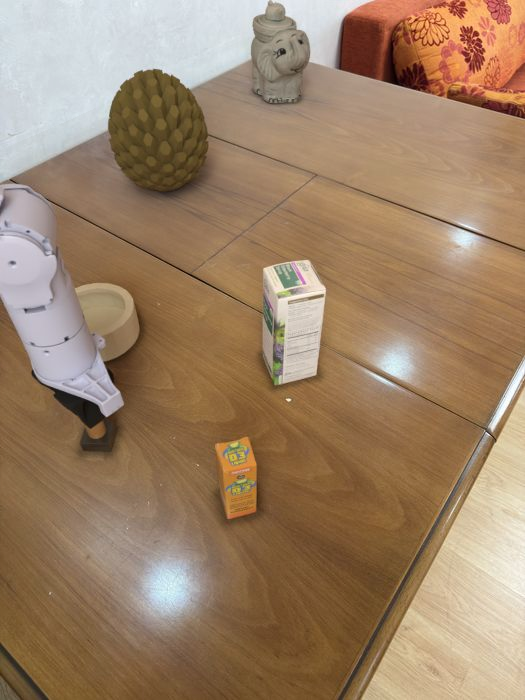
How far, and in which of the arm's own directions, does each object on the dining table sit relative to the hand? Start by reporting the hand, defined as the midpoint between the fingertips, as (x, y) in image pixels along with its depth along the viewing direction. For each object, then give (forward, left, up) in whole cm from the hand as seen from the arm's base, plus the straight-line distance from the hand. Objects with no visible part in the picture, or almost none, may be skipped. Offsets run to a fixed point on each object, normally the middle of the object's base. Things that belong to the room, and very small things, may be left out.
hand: (89, 415), depth 58 cm
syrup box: (+16, +19, -5) cm, 25 cm away
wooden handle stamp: (0, 0, -5) cm, 5 cm away
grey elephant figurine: (-16, +97, -5) cm, 98 cm away
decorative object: (-21, +52, -5) cm, 56 cm away
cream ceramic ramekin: (-10, +14, -5) cm, 18 cm away
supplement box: (+18, -1, -5) cm, 19 cm away
